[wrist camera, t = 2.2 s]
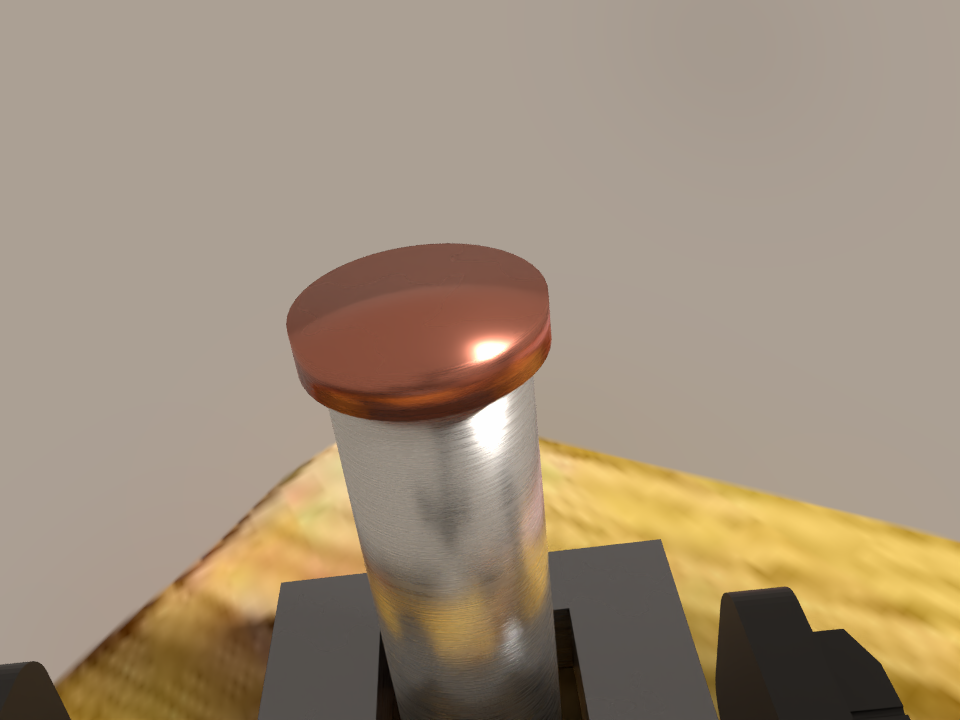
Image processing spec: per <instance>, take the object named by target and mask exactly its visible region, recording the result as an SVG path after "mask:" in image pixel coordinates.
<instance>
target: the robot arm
mask: <svg viewBox="0 0 960 720" xmlns="http://www.w3.org/2000/svg"><path fill="white" fill-rule="evenodd" d="M715 681H716V695H717V703H718V709H719V715H720V719H721V720H910V718H909V716H908V715H905V713H904V710H903V705H902V703H901V701H900V699H899V697H898V695H897V693H896V691H895V689H894V688H893V686H892V684H891V682H890V680H889V678H888V676H887V674H886V672H885V671H884V669H883V667H882V665H881V663H880V662H879V661H878V660H876V659H875V658H874V657H873V656H872V655H871V654H870V653H869V652H868V651H867V650H866V649H865V648H863V647H862V646H861V645H860V644H859V643H858V642H857V641H856V640H855V639H854V638H853V637H852V636H851V635H849V634H848V633H847V632H846V631H845V630H844V629H836V630H826V631H817V632H813V631H812V629H811V627H810V625H809V623H808V621H807V619H806V616H805V614H804V612H803V610H802V608H801V606H800V604H799V601H798V599H797V598H796V596H795V594H794V593H793V591H792V590H791V589H790V588H788V587H777V588H767V589H758V590H748V591H738V592H728V593H724V594H723V596H722V599H721V607H720V621H719V635H718V648H717V662H716V679H715ZM0 720H71V719H70V717H69V715H68V713H67V711H66V709H65V707H64V705H63V703H62V701H61V699H60V697H59V695H58V693H57V691H56V689H55V687H54V685H53V683H52V681H51V679H50V677H49V675H48V673H47V671H46V669H45V668H44V666H43V665H42V664H40V663H38V662H34V661H32V662H23V663H14V664H5V665H4V664H3V665H0Z"/></svg>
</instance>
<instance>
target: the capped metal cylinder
mask: <svg viewBox="0 0 960 720" xmlns="http://www.w3.org/2000/svg"><path fill="white" fill-rule="evenodd" d="M286 325H287V332H288V336H289V340H290V344H291V348H292V353H293V357H294V360H295V365H296V369H297V373H298V376H299V379H300V381H301V384H302V386H303V387H304V389H305V390H306V391H307V392H308V394H309V395H310V396H312V397H313V398H314V399H315V400H316V401H318V402H319V403H321V404H323V405H324V406H326V407H328V408H329V412H330V416H331V420H332V425H333V429H334V434H335V438H336V442H337V446H338V451H339V455H340V459H341V464H342V468H343V472H344V477H345V481H346V485H347V489H348V494H349V498H350V502H351V507H352V511H353V515H354V520H355V524H356V528H357V532H358V537H359V541H360V545H361V550H362V554H363V558H364V562H365V567H366V571H367V575H368V580H369V584H370V588H371V593H372V597H373V601H374V605H375V610H376V614H377V618H378V623H379V627H380V631H381V635H382V640H383V644H384V648H385V653H386V657H387V661H388V666H389V670H390V674H391V678H392V683H393V687H394V691H395V696H396V700H397V704H398V708H399V713H400V717H401V720H562V711H561V700H560V688H559V676H558V664H557V652H556V640H555V629H554V617H553V605H552V593H551V581H550V569H549V558H548V546H547V534H546V522H545V510H544V498H543V487H542V475H541V463H540V451H539V439H538V429H537V428H538V427H537V416H536V404H535V393H534V381H533V375H534V374H535V372H537V371H538V369H539V368H540V367H541V366H542V364H543V363H544V361H545V360H546V358H547V355H548V353H549V350H550V346H551V340H552V339H551V324H550V310H549V296H548V286H547V283H546V281H545V279H544V277H543V276H542V274H541V273H540V272H539V270H537V269H536V268H535V267H534V266H533V265H532V264H530V263H528V262H527V261H526V260H524V259H522V258H520V257H518V256H516V255H514V254H511V253H508V252H505V251H502V250H499V249H495V248H490V247H484V246H479V245H469V244H450V243H446V244H426V245H416V246H409V247H403V248H397V249H392V250H388V251H384V252H380V253H376V254H372V255H369V256H366V257H363V258H360V259H357V260H355V261H352V262H350V263H347V264H345V265H342V266H341V267H338V268H336V269H334V270H332V271H330V272H329V273H327V274H325V275H324V276H322V277H320V278H319V279H317V280H316V281H315V282H313V283H312V284H311V285H309V287H307V288H306V289H305V290H304V291H303V292H302V293H301V294H300V295H299V296H298V297H297V298H296V300H295V301H294V303H293V304H292V306H291V308H290V310H289V313H288V316H287V323H286Z"/></svg>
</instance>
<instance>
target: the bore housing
mask: <svg viewBox="0 0 960 720" xmlns="http://www.w3.org/2000/svg"><path fill="white" fill-rule="evenodd" d="M548 558H549V569H550V581H551V593H552V605H553V617H554V629H555V640H556V652H557V664H558V668H562V667H571V666H573V667H574V673H575V678H576V684H577V690H578V696H579V701H580V707H581V713H582V719H583V720H718V717H717V714H716V711H715V708H714V705H713V702H712V699H711V695H710V692H709V689H708V686H707V683H706V680H705V677H704V674H703V670H702V667H701V664H700V661H699V658H698V655H697V652H696V648H695V645H694V642H693V639H692V636H691V633H690V630H689V626H688V623H687V620H686V617H685V614H684V611H683V608H682V604H681V601H680V598H679V595H678V592H677V589H676V586H675V582H674V579H673V576H672V573H671V570H670V567H669V564H668V561H667V557H666V554H665V551H664V548H663V545H662V542H661V539H659V540H650V541H642V542H633V543H624V544H615V545H607V546H598V547H589V548H581V549H572V550H563V551H554V552H548ZM392 716H393V683H392V678H391V674H390V670H389V666H388V661H387V657H386V653H385V648H384V644H383V640H382V635H381V631H380V627H379V623H378V618H377V614H376V610H375V605H374V601H373V597H372V593H371V588H370V584H369V580H368V575H367V573H362V574H354V575H345V576H336V577H328V578H319V579H310V580H301V581H293V582H284V583H281V587H280V593H279V599H278V605H277V611H276V616H275V622H274V628H273V634H272V640H271V645H270V651H269V657H268V663H267V669H266V675H265V680H264V686H263V692H262V698H261V704H260V709H259V715H258V720H392Z"/></svg>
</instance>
